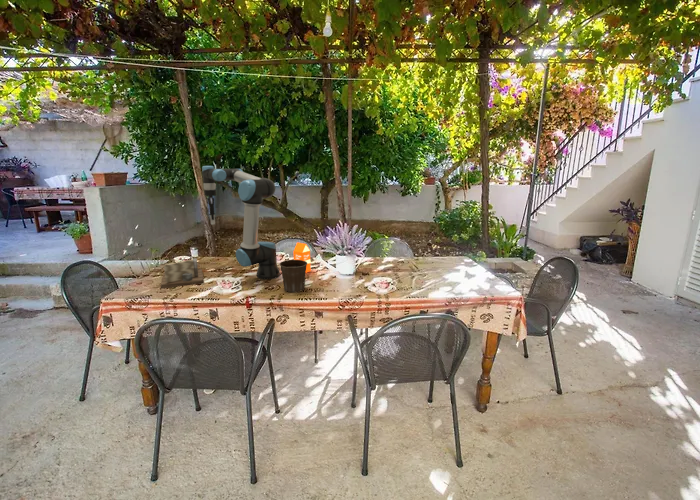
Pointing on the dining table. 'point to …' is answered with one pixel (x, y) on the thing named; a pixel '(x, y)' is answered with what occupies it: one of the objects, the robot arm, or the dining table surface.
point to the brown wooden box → (185, 278)
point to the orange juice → (302, 254)
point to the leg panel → (178, 270)
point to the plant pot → (293, 275)
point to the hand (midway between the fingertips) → (213, 224)
